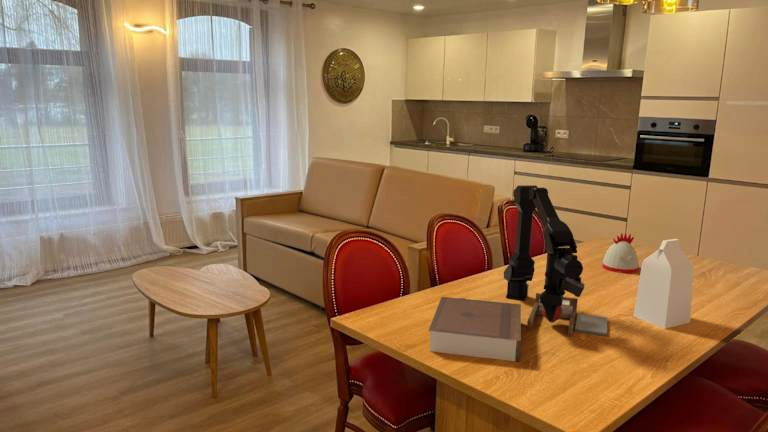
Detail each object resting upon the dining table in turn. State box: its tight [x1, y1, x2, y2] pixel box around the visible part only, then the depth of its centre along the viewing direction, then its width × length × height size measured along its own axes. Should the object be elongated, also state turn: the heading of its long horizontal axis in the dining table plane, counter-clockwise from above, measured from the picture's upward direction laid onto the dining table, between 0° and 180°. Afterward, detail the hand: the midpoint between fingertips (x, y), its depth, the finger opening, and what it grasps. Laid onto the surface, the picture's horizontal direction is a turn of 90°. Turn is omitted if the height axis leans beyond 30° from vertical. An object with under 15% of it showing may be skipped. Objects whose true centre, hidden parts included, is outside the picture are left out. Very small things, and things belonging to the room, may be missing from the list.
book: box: [427, 296, 522, 363], centre depth 167 cm, size 24×28×6 cm
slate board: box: [574, 313, 609, 337], centre depth 178 cm, size 9×14×1 cm, turn 158°
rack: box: [526, 292, 579, 337], centre depth 180 cm, size 13×20×5 cm, turn 158°
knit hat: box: [601, 232, 640, 274], centre depth 238 cm, size 14×14×15 cm
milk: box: [632, 238, 694, 330], centre depth 181 cm, size 12×12×26 cm
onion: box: [542, 306, 562, 324], centre depth 176 cm, size 6×6×8 cm
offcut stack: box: [537, 300, 573, 320], centre depth 186 cm, size 11×4×4 cm, turn 68°
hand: (551, 317), depth 177 cm, fingers closed on onion, 6 cm apart
